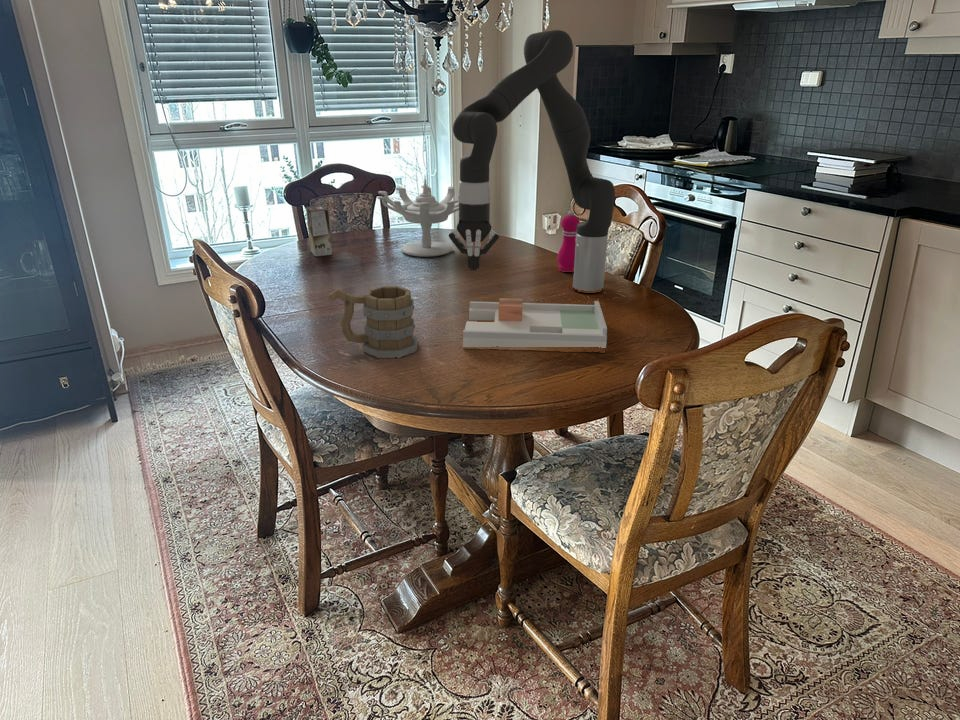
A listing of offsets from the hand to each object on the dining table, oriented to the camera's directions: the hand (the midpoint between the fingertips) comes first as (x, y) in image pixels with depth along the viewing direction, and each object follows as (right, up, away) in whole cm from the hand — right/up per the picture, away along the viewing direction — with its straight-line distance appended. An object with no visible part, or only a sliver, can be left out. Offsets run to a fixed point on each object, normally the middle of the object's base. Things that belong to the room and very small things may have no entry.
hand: (473, 269), depth 165 cm
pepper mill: (+31, +7, +54) cm, 63 cm away
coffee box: (-56, +16, +73) cm, 93 cm away
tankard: (-24, -20, -7) cm, 32 cm away
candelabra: (-18, +17, +75) cm, 79 cm away
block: (+9, -12, +4) cm, 16 cm away
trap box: (+15, -16, +2) cm, 22 cm away
